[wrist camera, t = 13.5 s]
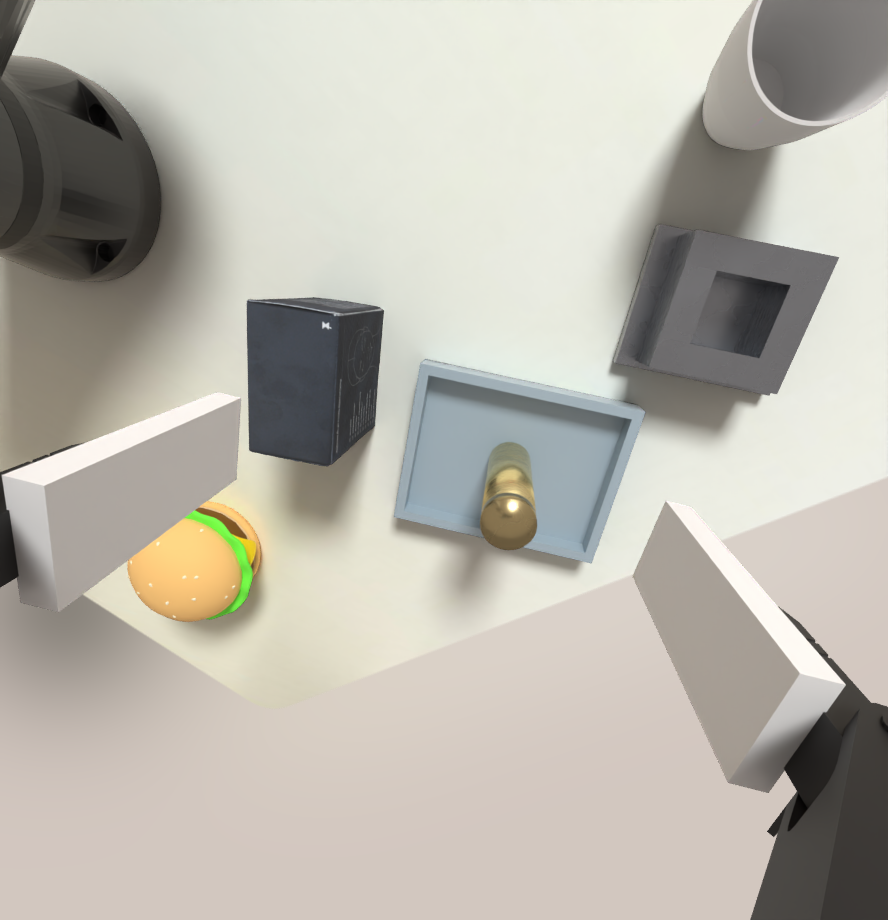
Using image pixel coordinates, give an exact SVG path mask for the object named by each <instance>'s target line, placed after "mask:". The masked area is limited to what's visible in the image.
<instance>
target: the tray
mask: <svg viewBox="0 0 888 920" xmlns="http://www.w3.org/2000/svg"><path fill="white" fill-rule="evenodd" d="M644 415H645V411H644V410H643V409H642V408H640V407H639V406H638V405H636V404H631V403H626V402H622V401H617V400H612V399H608V398H603V397H599V396H594V395H589V394H585V393H580V392H575V391H571V390H566V389H562V388H557V387H552V386H548V385H543V384H538V383H534V382H529V381H525V380H520V379H515V378H511V377H506V376H501V375H497V374H492V373H488V372H483V371H478V370H474V369H469V368H464V367H460V366H455V365H450V364H446V363H441V362H437V361H432V360H427V359H425V360H424V361H423V362H421V363H420V369H419V375H418V381H417V386H416V392H415V398H414V404H413V409H412V415H411V421H410V427H409V432H408V438H407V444H406V450H405V455H404V461H403V467H402V473H401V478H400V484H399V490H398V496H397V501H396V507H395V513H394V517H396V518H400V519H405V520H409V521H413V522H418V523H422V524H426V525H430V526H435V527H439V528H443V529H447V530H452V531H456V532H460V533H464V534H469V535H473V536H477V537H481V538H484V536H483V535H482V532H481V529H480V518H481V511H482V504H483V497H484V490H485V483H486V476H487V469H488V462H489V456H490V454H491V452H492V450H493V449H494V448H495V447H496V446H498V445H500V444H502V443H505V442H514V443H517V444H520V445H521V446H523V447H524V448H525V449H526V450H527V452H528V454H529V456H530V462H531V471H532V480H533V489H534V498H535V508H536V517H537V531H536V534H535V536H534V538H533V539H532V540H531V541H530V542H529V543H528V544H527V545H525V546H524V548H528V549H533V550H537V551H541V552H545V553H550V554H554V555H558V556H562V557H567V558H571V559H575V560H579V561H584V562H588V563H592V561H593V558H594V555H595V552H596V549H597V547H598V544H599V541H600V538H601V536H602V533H603V530H604V527H605V524H606V522H607V519H608V516H609V513H610V510H611V508H612V505H613V502H614V499H615V496H616V494H617V491H618V488H619V485H620V482H621V480H622V477H623V474H624V471H625V468H626V466H627V463H628V460H629V457H630V454H631V452H632V449H633V446H634V443H635V440H636V438H637V435H638V432H639V429H640V426H641V424H642V421H643V418H644Z"/></svg>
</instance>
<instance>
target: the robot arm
mask: <svg viewBox="0 0 888 920" xmlns="http://www.w3.org/2000/svg"><path fill="white" fill-rule="evenodd" d="M34 2H35V0H0V257H3V258H6V259H8V260H11V261H13V262H16V263H18V264H21V265H23V266H26V267H28V268H31V269H33V270H36V271H38V272H41V273H44V274H46V275H49V276H52V277H56V278H60V279H65V280H73V281H106V280H111V279H115V278H118V277H120V276H122V275H124V274H126V273H128V272H129V271H131V270H132V269H133V268H135V267H136V266H137V265H138V264H139V263H140V262H141V261H142V259H143V258H144V257H145V256H146V254H147V253H148V251H149V249H150V247H151V245H152V243H153V241H154V238H155V236H156V232H157V229H158V224H159V218H160V205H161V199H160V187H159V180H158V175H157V171H156V167H155V163H154V160H153V157H152V154H151V152H150V149H149V147H148V145H147V142H146V140H145V138H144V136H143V135H142V133H141V131H140V129H139V128H138V126H137V124H136V123H135V121H134V120H133V119H132V117H131V116H130V114H129V113H128V112H127V111H126V110H125V108H124V107H123V106H122V105H121V104H120V103H119V102H118V101H117V100H116V99H115V98H114V97H113V96H112V95H111V94H110V93H108V92H107V91H106V90H105V89H103V88H102V87H101V86H99V85H98V84H96V83H94V82H93V81H91V80H89V79H87V78H85V77H83V76H81V75H79V74H77V73H75V72H73V71H72V70H70V69H68V68H66V67H63V66H61V65H59V64H56V63H53V62H50V61H47V60H43V59H39V58H33V57H24V56H13V55H11V54H12V52H13V50H14V48H15V45H16V43H17V41H18V38H19V36H20V34H21V32H22V29H23V27H24V25H25V23H26V20H27V18H28V16H29V13H30V11H31V9H32V7H33V4H34ZM240 407H241V398H239V397H235V396H231V395H227V394H223V393H219V392H216V393H213V394H210V395H208V396H205V397H203V398H200V399H197V400H195V401H192V402H190V403H187V404H185V405H182V406H179V407H177V408H174V409H172V410H169V411H166V412H164V413H161V414H159V415H156V416H154V417H151V418H148V419H146V420H143V421H141V422H138V423H135V424H133V425H130V426H128V427H125V428H122V429H120V430H117V431H115V432H112V433H110V434H107V435H104V436H102V437H99V438H97V439H94V440H91V441H89V442H86V443H82V444H76V445H71V446H68V447H66V448H63V449H61V450H58V451H55V452H53V453H50V456H48V455H45V456H42V457H40V458H37V459H34V460H33V462H26V463H24V464H21V465H18V466H16V467H13V468H11V469H8V470H5V471H3V472H0V587H2V586H3V585H5V584H7V583H8V582H10V581H12V580H13V579H15V578H17V581H18V588H19V595H20V602H21V603H24V604H28V605H32V606H36V607H40V608H44V609H47V610H52V611H56V612H60V611H61V610H62V609H64V608H65V607H66V606H68V605H69V604H70V603H72V602H73V601H74V600H76V599H77V598H78V597H80V596H81V595H82V594H84V593H85V592H86V591H88V590H89V589H90V588H92V587H93V586H94V585H96V584H97V583H98V582H100V581H101V580H102V579H104V578H105V577H106V576H108V575H109V574H110V573H112V572H113V571H114V570H116V569H117V568H118V567H120V566H121V565H122V564H124V563H125V562H126V561H128V560H129V559H130V558H132V557H133V556H134V555H136V554H137V553H138V552H140V551H141V550H142V549H144V548H145V547H146V546H148V545H149V544H150V543H152V542H153V541H154V540H156V539H157V538H158V537H160V536H161V535H162V534H164V533H165V532H166V531H168V530H169V529H170V528H172V527H173V526H174V525H176V524H177V523H178V522H180V521H181V520H182V519H184V518H185V517H186V516H188V515H189V514H190V513H192V512H193V511H194V510H196V509H197V508H198V507H200V506H201V505H202V504H204V503H205V502H206V501H208V500H209V499H210V498H212V497H213V496H214V495H216V494H217V493H218V492H220V491H221V490H222V489H224V488H225V487H226V486H228V485H229V484H230V483H232V482H233V481H234V480H236V479H237V461H238V443H239V425H240ZM633 578H634V580H635V583H636V585H637V587H638V589H639V591H640V593H641V595H642V598H643V600H644V602H645V604H646V606H647V609H648V611H649V613H650V615H651V617H652V619H653V622H654V623H655V626H656V628H657V630H658V632H659V635H660V637H661V639H662V641H663V643H664V645H665V647H666V650H667V652H668V654H669V656H670V658H671V660H672V663H673V665H674V667H675V669H676V671H677V673H678V675H679V677H680V680H681V682H682V684H683V686H684V688H685V691H686V693H687V695H688V697H689V699H690V701H691V704H692V706H693V708H694V710H695V712H696V714H697V717H698V719H699V721H700V723H701V725H702V728H703V730H704V732H705V734H706V736H707V738H708V740H709V742H710V745H711V747H712V749H713V751H714V754H715V756H716V758H717V760H718V762H719V764H720V766H721V769H722V771H723V773H724V775H725V777H726V779H727V782H728V783H731V784H735V785H739V786H743V787H747V788H751V789H755V790H759V791H763V792H766V793H769V791H770V790H771V789H772V787H773V786H774V784H775V783H776V782H777V780H778V779H779V778H780V776H781V775H782V773H783V772H784V771H786V773H787V775H788V776H789V778H790V780H791V781H792V783H793V785H794V786H795V788H796V790H797V792H796V794H795V795H794V796H793V798H792V799H791V800H790V802H789V803H788V804H787V806H786V807H785V808H784V810H783V811H782V813H781V814H780V815H779V816H778V818H777V819H776V820H775V822H774V823H773V824H772V826H771V827H770V828H769V830H768V831H767V832H768V833H770V834H771V835H772V836H773V837H774V836H775V835H776V834H777V833H778V834H777V838H776V841H775V844H774V847H773V850H772V853H771V856H770V860H769V863H768V866H767V869H766V872H765V876H764V879H763V882H762V885H761V888H760V891H759V894H758V897H757V900H756V904H755V907H754V910H753V913H752V917H751V920H888V707H887V706H883V705H880V704H877V703H871V702H870V701H869V700H868V699H867V698H866V697H865V696H864V694H863V693H862V692H861V691H860V690H859V689H858V688H857V687H856V686H855V684H854V683H853V682H852V681H851V680H850V679H849V678H848V677H847V675H846V674H845V673H844V672H843V671H842V670H841V669H840V668H839V666H838V665H837V664H836V663H835V662H834V661H833V660H832V659H831V658H828V654H827V653H826V652H825V651H824V650H823V649H822V647H821V646H820V645H819V644H816V643H815V639H814V638H813V637H812V636H811V635H810V634H809V633H808V632H807V631H806V629H805V628H804V627H803V626H802V625H801V624H800V623H799V622H798V621H796V620H795V619H794V618H793V617H791V616H790V615H789V614H787V613H786V612H785V611H784V610H782V609H781V608H780V607H778V606H777V605H776V604H775V603H774V602H773V600H772V599H771V598H770V597H769V596H768V595H767V594H766V592H765V591H764V590H763V589H762V588H761V587H760V585H759V584H758V583H757V582H756V581H755V580H754V579H753V577H752V576H751V575H750V574H749V573H748V572H747V571H746V569H745V568H744V567H743V566H742V565H741V564H740V562H739V561H738V560H737V559H736V558H735V557H734V556H733V555H732V554H731V552H730V551H729V550H728V549H727V548H726V546H725V545H724V544H723V543H722V542H721V541H720V539H719V538H718V537H717V536H716V535H715V534H714V532H713V531H712V530H711V529H710V528H709V527H708V526H707V524H706V523H705V522H704V521H703V520H702V519H701V518H700V516H699V515H698V514H697V513H696V512H695V511H694V509H693V508H692V507H690V506H686V505H682V504H678V503H673V502H669V501H665V504H664V506H663V508H662V511H661V513H660V515H659V517H658V520H657V522H656V524H655V526H654V529H653V531H652V533H651V536H650V538H649V540H648V542H647V545H646V547H645V549H644V551H643V554H642V556H641V558H640V561H639V563H638V565H637V567H636V570H635V572H634V574H633Z"/></svg>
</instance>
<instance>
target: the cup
mask: <svg viewBox="0 0 888 920" xmlns="http://www.w3.org/2000/svg"><path fill="white" fill-rule="evenodd" d="M887 96H888V0H753V1H752V2H751V4H750V5H749V7H748V8H747V9H746V11H745V12H744V14H743V15H742V16H741V18H740V19H739V21H738V22H737V24H736V25H735V27H734V29H733V30H732V32H731V34H730V36H729V38H728V40H727V42H726V44H725V46H724V48H723V50H722V52H721V54H720V56H719V58H718V60H717V62H716V64H715V66H714V68H713V70H712V72H711V74H710V77H709V80H708V83H707V87H706V93H705V98H704V104H703V123H704V126H705V129H706V131H707V133H708V135H709V136H710V137H711V138H712V139H713V140H714V141H715V142H716V143H718V144H720V145H722V146H725V147H729V148H735V149H740V150H757V149H762V148H767V147H771V146H776V145H781V144H786V143H791V142H794V141H797V140H800V139H803V138H805V137H808V136H810V135H812V134H815V133H817V132H820V131H822V130H825V129H827V128H829V127H832V126H834V125H837V124H839V123H842V122H844V121H846V120H849V119H851V118H854V117H856V116H858V115H860V114H862V113H864V112H866V111H867V110H869V109H871V108H872V107H874V106H875V105H877V104H878V103H879V102H881V101H882V100H883V99H885V98H886V97H887Z"/></svg>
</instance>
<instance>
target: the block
mask: <svg viewBox="0 0 888 920" xmlns="http://www.w3.org/2000/svg"><path fill="white" fill-rule="evenodd" d="M838 259H839V257H835V256H830V255H825V254H820V253H814V252H809V251H804V250H799V249H794V248H789V247H784V246H779V245H774V244H768V243H763V242H758V241H753V240H748V239H743V238H738V237H733V236H727V235H722V234H717V233H712V232H707V231H702V230H694V231H693V230H688V229H683V228H678V227H672V226H667V225H662V224H659V225H657V226H656V227H655V230H654V233H653V236H652V240H651V243H650V246H649V249H648V252H647V255H646V258H645V262H644V265H643V268H642V271H641V274H640V277H639V280H638V283H637V287H636V290H635V293H634V296H633V299H632V302H631V305H630V309H629V312H628V315H627V318H626V321H625V324H624V327H623V331H622V334H621V337H620V340H619V343H618V346H617V349H616V352H615V356H614V359H613V362H615V363H618V364H623V365H627V366H632V367H637V368H641V369H646V370H651V371H656V372H660V373H665V374H670V375H674V376H679V377H684V378H689V379H693V380H698V381H703V382H708V383H712V384H717V385H722V386H726V387H731V388H736V389H741V390H745V391H750V392H755V393H759V394H764V395H770V393H773V394H777V393H778V391H779V389H780V386H781V384H782V382H783V380H784V378H785V375H786V373H787V371H788V369H789V367H790V364H791V362H792V360H793V358H794V356H795V353H796V351H797V349H798V347H799V345H800V342H801V340H802V338H803V336H804V334H805V331H806V329H807V327H808V325H809V323H810V320H811V318H812V316H813V314H814V312H815V309H816V307H817V305H818V303H819V301H820V298H821V296H822V294H823V292H824V290H825V287H826V285H827V283H828V281H829V279H830V276H831V274H832V272H833V270H834V268H835V265H836V263H837V261H838Z"/></svg>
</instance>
